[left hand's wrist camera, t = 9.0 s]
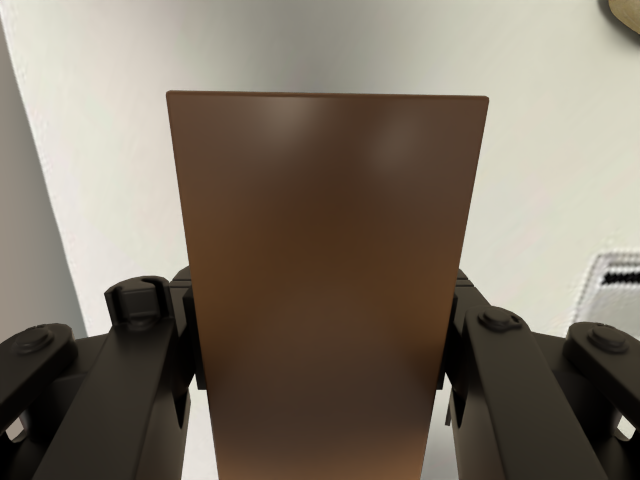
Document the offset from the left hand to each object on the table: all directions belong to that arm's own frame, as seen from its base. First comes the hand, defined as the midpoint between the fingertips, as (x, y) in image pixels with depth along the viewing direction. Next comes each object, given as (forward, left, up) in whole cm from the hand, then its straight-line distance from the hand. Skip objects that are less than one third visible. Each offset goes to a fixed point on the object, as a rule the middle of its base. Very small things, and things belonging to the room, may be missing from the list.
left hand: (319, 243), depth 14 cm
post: (+22, 0, -1) cm, 22 cm away
